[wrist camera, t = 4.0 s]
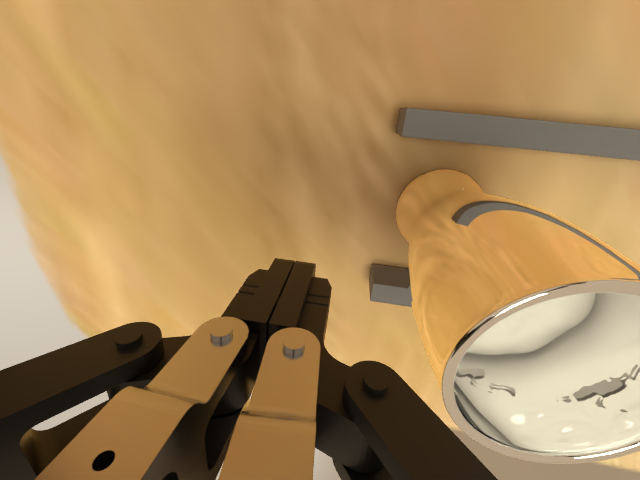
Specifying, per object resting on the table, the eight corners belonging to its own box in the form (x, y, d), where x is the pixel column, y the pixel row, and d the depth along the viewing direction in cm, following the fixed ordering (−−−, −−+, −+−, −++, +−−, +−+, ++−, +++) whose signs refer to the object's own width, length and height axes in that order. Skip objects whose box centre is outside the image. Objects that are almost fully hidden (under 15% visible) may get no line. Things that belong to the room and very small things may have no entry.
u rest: (400, 108, 19) (407, 107, 16) (848, 150, 17) (942, 157, 14) (369, 279, 24) (370, 300, 22) (706, 327, 22) (754, 357, 20)
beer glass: (484, 252, 22) (680, 478, 9) (390, 255, 23) (429, 461, 10) (495, 157, 19) (809, 267, 6) (388, 166, 21) (440, 278, 7)
